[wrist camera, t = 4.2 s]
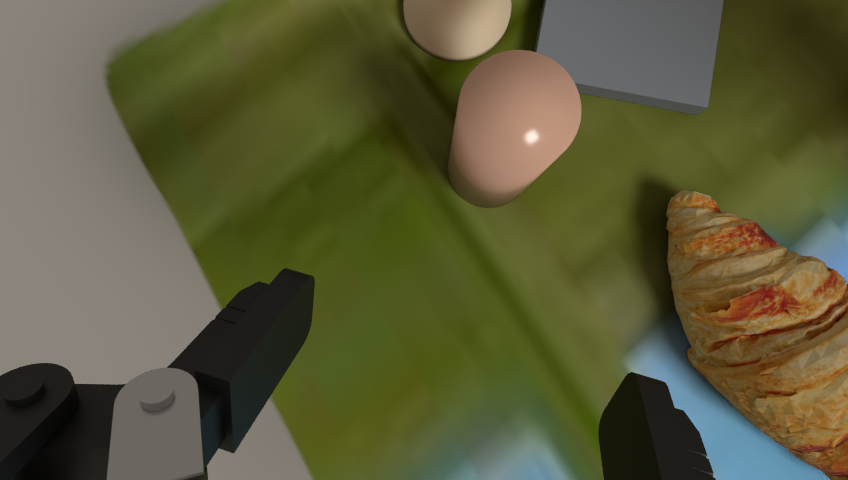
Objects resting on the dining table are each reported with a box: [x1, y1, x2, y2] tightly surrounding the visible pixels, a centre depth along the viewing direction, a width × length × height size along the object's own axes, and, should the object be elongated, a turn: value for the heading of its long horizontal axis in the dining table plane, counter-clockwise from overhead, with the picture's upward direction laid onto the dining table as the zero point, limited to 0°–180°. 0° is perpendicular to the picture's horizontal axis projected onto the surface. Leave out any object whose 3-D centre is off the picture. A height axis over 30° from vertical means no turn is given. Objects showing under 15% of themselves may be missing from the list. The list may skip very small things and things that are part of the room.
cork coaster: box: [403, 0, 511, 61], centre depth 30 cm, size 7×7×1 cm
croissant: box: [666, 190, 848, 480], centre depth 26 cm, size 21×10×8 cm, turn 34°
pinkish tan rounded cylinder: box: [448, 50, 581, 208], centre depth 24 cm, size 5×5×10 cm
